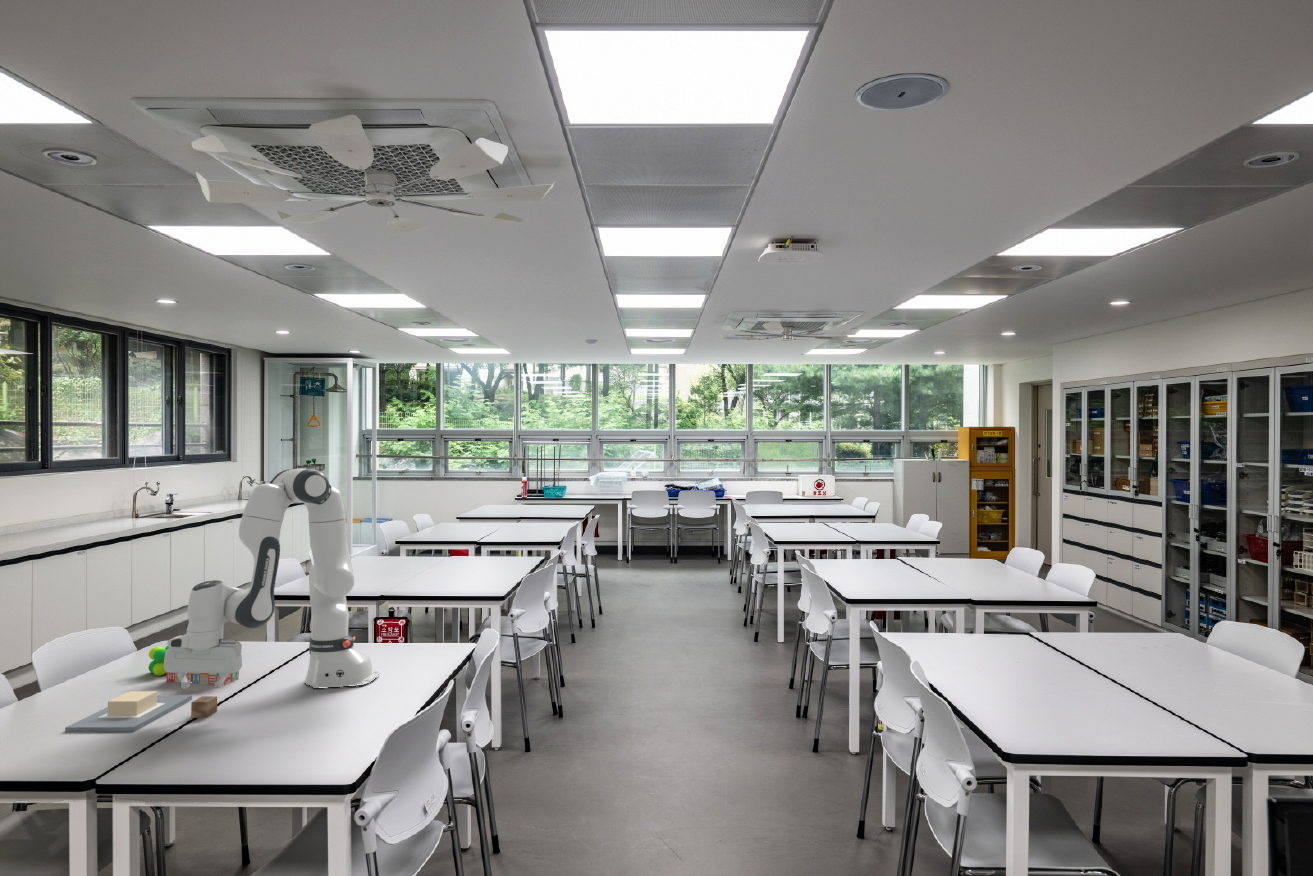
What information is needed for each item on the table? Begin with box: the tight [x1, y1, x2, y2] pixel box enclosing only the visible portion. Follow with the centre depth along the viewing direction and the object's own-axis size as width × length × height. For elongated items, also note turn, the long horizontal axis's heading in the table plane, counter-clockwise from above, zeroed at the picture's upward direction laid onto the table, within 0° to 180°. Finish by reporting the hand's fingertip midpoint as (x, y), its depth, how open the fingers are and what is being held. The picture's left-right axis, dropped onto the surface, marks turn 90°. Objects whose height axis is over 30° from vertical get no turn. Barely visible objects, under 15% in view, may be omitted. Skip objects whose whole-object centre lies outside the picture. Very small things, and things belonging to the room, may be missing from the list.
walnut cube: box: [190, 695, 218, 719], centre depth 196 cm, size 4×4×4 cm
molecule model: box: [148, 646, 170, 677], centre depth 232 cm, size 9×9×9 cm
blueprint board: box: [64, 690, 193, 733], centre depth 195 cm, size 18×24×5 cm
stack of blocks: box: [166, 670, 240, 686], centre depth 225 cm, size 21×6×12 cm, turn 83°
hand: (202, 687), depth 195 cm, fingers open, 8 cm apart
